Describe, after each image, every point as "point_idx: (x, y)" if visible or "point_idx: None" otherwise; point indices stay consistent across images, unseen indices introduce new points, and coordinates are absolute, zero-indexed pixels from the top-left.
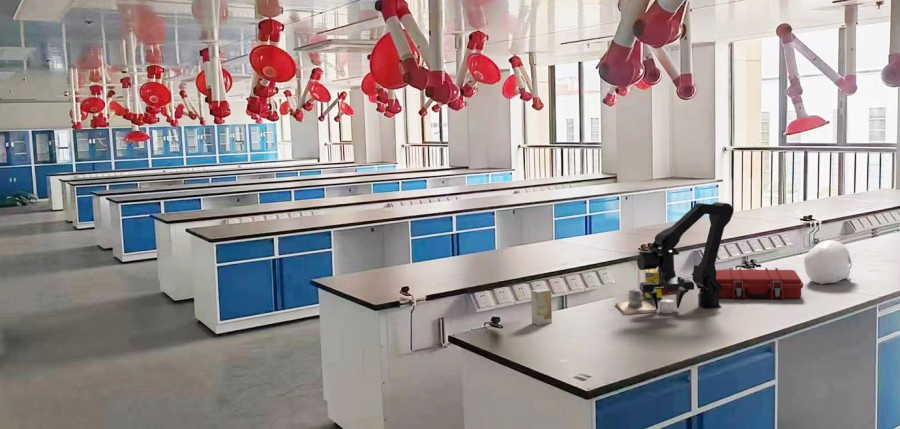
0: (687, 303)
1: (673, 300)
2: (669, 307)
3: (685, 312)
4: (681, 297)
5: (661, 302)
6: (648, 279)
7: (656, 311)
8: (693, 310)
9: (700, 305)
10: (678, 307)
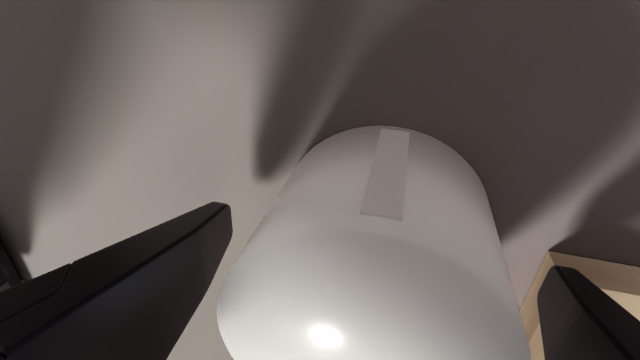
0: None
1: (223, 338)
2: (385, 171)
3: (162, 89)
4: (11, 299)
5: (527, 345)
6: None
7: (553, 258)
8: (65, 144)
9: (1, 254)
10: (211, 206)
